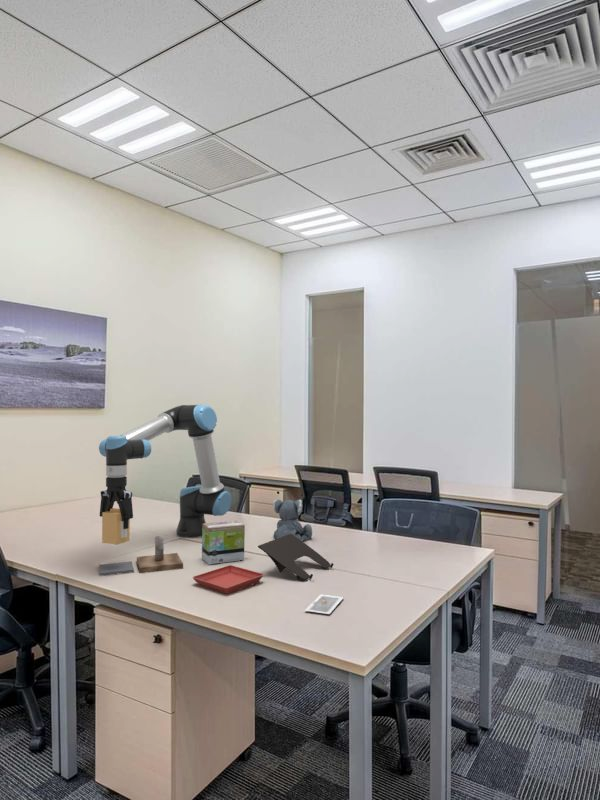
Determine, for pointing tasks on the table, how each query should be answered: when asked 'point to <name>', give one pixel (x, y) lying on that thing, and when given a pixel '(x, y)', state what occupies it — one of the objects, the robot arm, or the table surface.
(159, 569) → the wooden base with post
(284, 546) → the portable electronic device stand
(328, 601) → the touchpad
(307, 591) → the table surface
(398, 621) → the table surface
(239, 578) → the plant saucer
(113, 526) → the tan tall block
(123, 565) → the pad
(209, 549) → the tea box
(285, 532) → the koala plush
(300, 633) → the table surface
